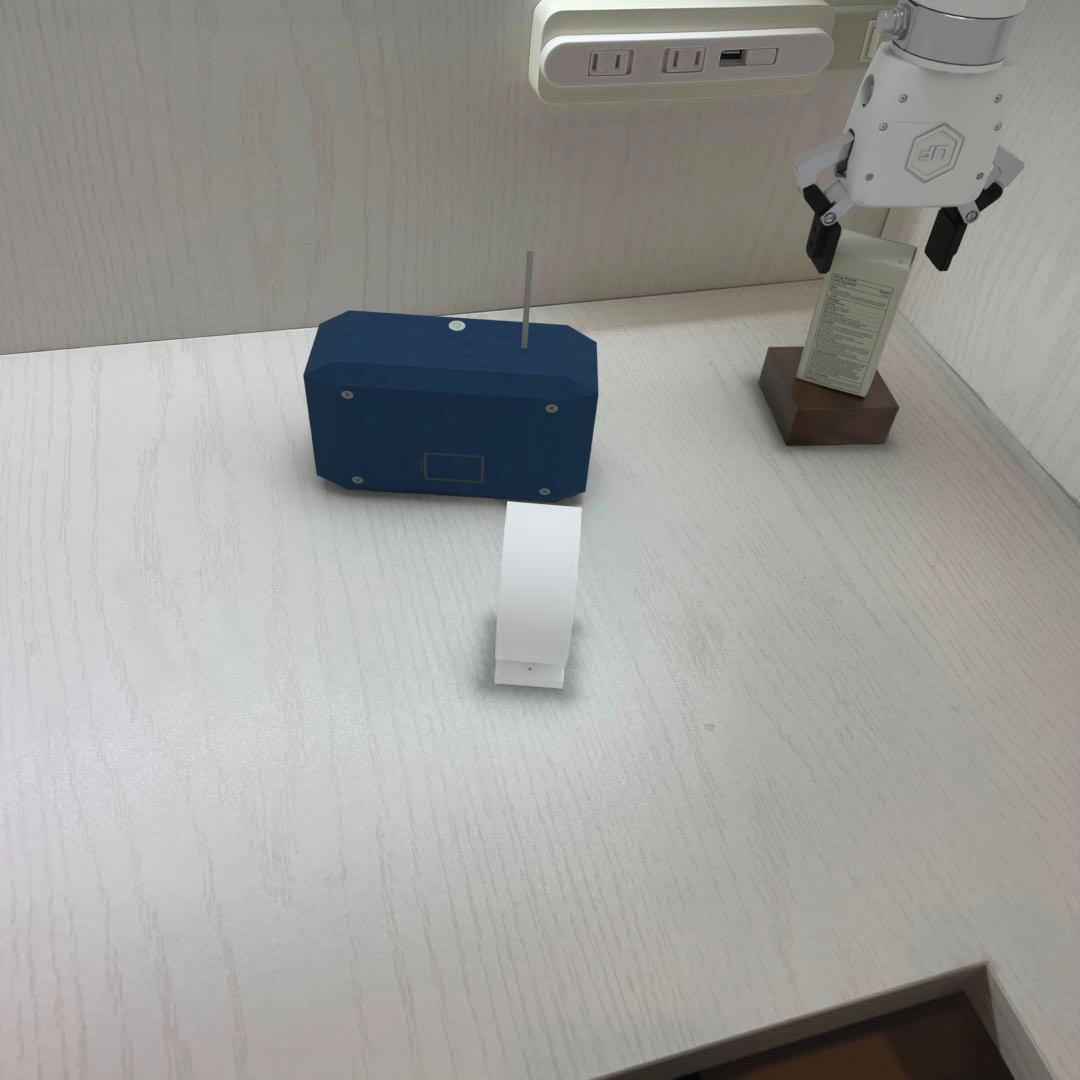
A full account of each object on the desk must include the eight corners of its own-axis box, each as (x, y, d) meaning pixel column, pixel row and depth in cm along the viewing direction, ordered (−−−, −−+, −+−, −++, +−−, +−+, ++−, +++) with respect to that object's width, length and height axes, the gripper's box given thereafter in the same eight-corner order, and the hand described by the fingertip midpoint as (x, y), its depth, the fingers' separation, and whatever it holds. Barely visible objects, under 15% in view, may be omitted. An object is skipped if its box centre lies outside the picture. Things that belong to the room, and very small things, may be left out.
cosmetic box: (874, 373, 85) (923, 246, 76) (865, 400, 82) (914, 271, 73) (803, 352, 86) (843, 225, 78) (791, 377, 84) (830, 248, 75)
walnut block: (850, 381, 91) (863, 345, 88) (884, 443, 85) (900, 407, 82) (758, 382, 90) (768, 346, 87) (786, 446, 83) (797, 409, 81)
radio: (582, 440, 82) (610, 221, 68) (583, 512, 76) (614, 288, 62) (335, 424, 82) (310, 200, 67) (316, 496, 75) (284, 266, 61)
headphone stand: (565, 630, 68) (582, 507, 59) (562, 702, 64) (579, 581, 55) (499, 624, 68) (507, 500, 59) (492, 696, 64) (498, 574, 55)
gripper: (846, 50, 61) (784, 291, 73) (1103, 52, 62) (1001, 286, 75) (809, 9, 66) (757, 241, 78) (1048, 12, 68) (960, 238, 80)
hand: (876, 263), depth 76 cm, fingers open, 9 cm apart
